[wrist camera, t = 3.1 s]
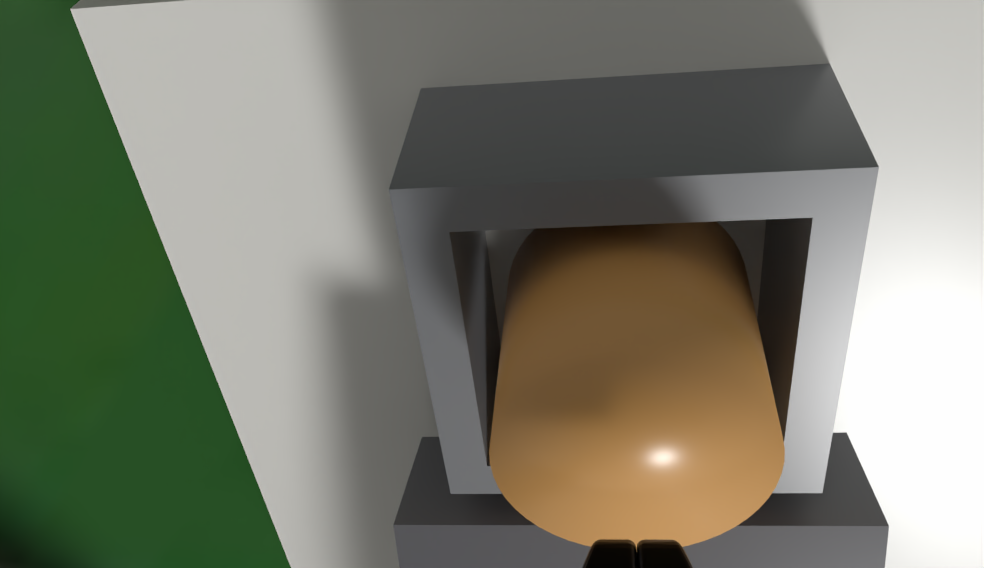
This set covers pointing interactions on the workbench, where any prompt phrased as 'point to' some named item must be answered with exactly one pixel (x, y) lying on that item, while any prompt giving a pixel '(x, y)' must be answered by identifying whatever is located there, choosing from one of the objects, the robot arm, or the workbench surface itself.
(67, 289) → the workbench surface
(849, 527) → the rocker
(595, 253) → the button
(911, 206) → the breaker box
